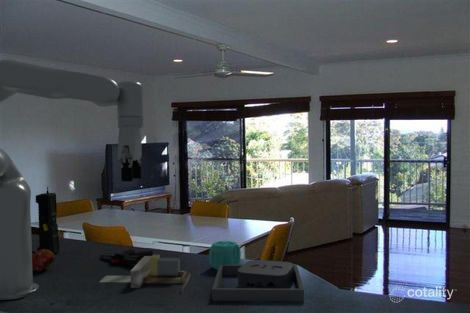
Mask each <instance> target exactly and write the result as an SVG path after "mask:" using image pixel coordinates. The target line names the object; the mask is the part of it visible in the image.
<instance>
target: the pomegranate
mask: <svg viewBox="0 0 470 313" xmlns="http://www.w3.org/2000/svg"><path fill="white" fill-rule="evenodd" d="M55 255H56V254H55ZM55 255H54V254H53V253H52V252H51V251H50V250H47V249H41V250H39V251H38V252H37V251H34V250H32V271H35V272H37V273H41V272H42V271H44V270H46V269H49V270H51V271H52V272H53V271H54V270H53V269H52V267H50V266H51V264H52V263H53V262H54V261H55V257H56V256H55Z"/></svg>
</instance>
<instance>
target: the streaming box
mask: <svg viewBox="0 0 470 313" xmlns="http://www.w3.org/2000/svg"><path fill="white" fill-rule="evenodd" d="M242 265H243V266H241V267H240V268H239V269H238V275H237V288H263V289H291V288H290V287H291V286H292V284H294V282H295V278H294V265H295V264H294V263H292V262H290V261H278V260H277V261H276V260H264V259H263V260H262V259H251V260H247V261H245V263H243V264H242Z"/></svg>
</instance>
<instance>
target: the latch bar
mask: <svg viewBox="0 0 470 313" xmlns="http://www.w3.org/2000/svg"><path fill="white" fill-rule="evenodd" d="M180 259H181V258H180V257H161V254H153V255H152V256H151V257H150V273H151V278H181V276H180V271H181V260H180Z"/></svg>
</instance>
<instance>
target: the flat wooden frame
mask: <svg viewBox="0 0 470 313" xmlns="http://www.w3.org/2000/svg"><path fill="white" fill-rule="evenodd" d="M150 257H151V256H144V257H143V258H141V260H140V261H139V262H138V264H137V265H136V266H133V268H132V269H130V275H105V276H104V277H103V278H101V279H100V281H98V283H130V288H131V289H140V288H141V287H142V286H143V284H183V285H182V287H181V288H180V291H179V294H182V293H183V292H184V290H185V288H186V285H187V283H188V281H189V280H190V277H191V272H188V270H180V278H151V273H150Z"/></svg>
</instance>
